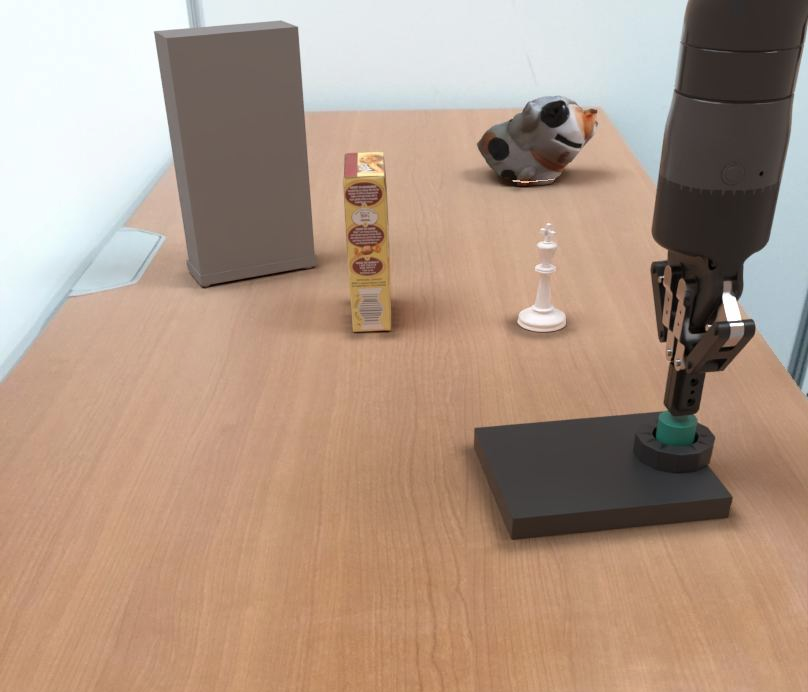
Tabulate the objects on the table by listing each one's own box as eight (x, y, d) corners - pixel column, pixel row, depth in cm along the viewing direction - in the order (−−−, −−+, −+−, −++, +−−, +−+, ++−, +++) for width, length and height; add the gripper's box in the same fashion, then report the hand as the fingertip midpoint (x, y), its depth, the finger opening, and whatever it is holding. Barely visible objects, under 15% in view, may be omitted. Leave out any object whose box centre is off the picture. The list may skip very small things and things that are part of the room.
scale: (672, 430, 79) (679, 392, 77) (739, 517, 69) (749, 476, 67) (473, 448, 77) (474, 409, 75) (511, 540, 67) (514, 499, 65)
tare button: (685, 428, 73) (688, 407, 72) (699, 446, 71) (703, 425, 70) (650, 431, 73) (653, 410, 72) (663, 449, 71) (667, 428, 70)
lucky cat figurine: (541, 158, 148) (590, 75, 138) (573, 209, 143) (626, 127, 133) (462, 141, 140) (508, 52, 131) (492, 194, 135) (543, 105, 125)
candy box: (392, 332, 96) (388, 175, 87) (350, 333, 96) (342, 176, 87) (389, 298, 103) (385, 150, 94) (350, 300, 103) (342, 151, 94)
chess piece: (539, 308, 100) (545, 212, 95) (576, 322, 97) (585, 224, 92) (507, 322, 98) (512, 224, 92) (544, 336, 95) (551, 236, 89)
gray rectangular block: (299, 252, 116) (279, 19, 101) (317, 267, 111) (300, 26, 97) (187, 271, 111) (150, 30, 97) (201, 288, 107) (165, 38, 92)
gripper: (828, 194, 55) (768, 451, 66) (733, 138, 66) (694, 367, 76) (705, 203, 55) (663, 461, 65) (628, 145, 65) (603, 375, 76)
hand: (680, 410), depth 71 cm, fingers closed
